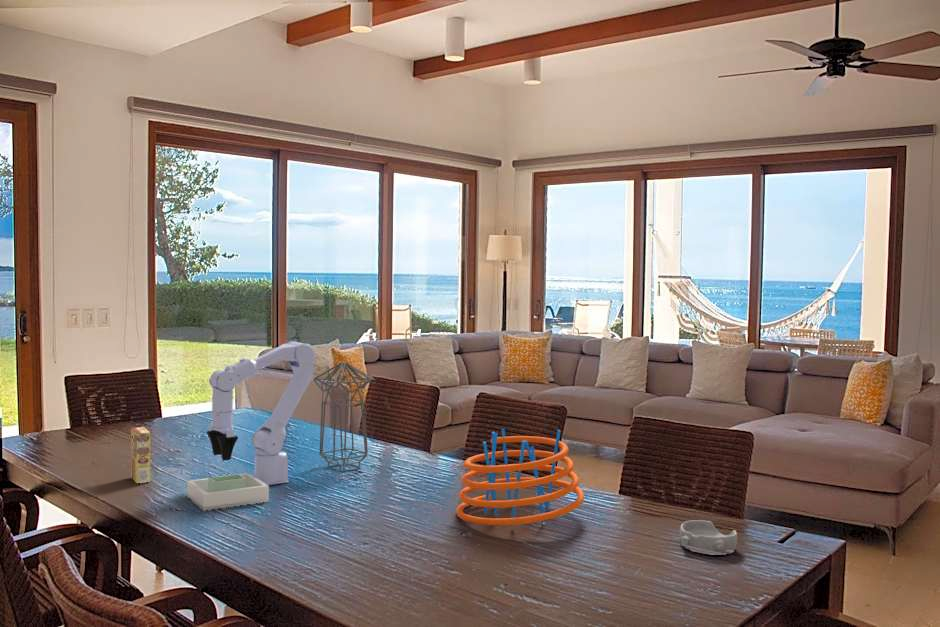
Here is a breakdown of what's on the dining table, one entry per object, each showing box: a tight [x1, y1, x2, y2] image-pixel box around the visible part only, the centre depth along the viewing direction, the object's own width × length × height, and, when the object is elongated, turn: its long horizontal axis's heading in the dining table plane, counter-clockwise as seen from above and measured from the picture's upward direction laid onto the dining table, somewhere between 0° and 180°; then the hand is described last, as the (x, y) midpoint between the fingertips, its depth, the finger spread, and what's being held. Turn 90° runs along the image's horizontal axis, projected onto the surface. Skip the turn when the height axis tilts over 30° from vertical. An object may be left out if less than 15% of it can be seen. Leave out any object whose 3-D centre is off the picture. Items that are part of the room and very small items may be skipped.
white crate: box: [186, 472, 270, 512], centre depth 229 cm, size 18×16×4 cm
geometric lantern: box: [312, 361, 375, 472], centre depth 268 cm, size 16×16×35 cm
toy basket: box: [455, 428, 585, 526], centre depth 220 cm, size 34×35×24 cm
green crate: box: [207, 473, 246, 493], centre depth 229 cm, size 9×6×5 cm, turn 125°
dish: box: [679, 519, 738, 551], centre depth 200 cm, size 14×14×5 cm
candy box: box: [130, 426, 151, 485], centre depth 245 cm, size 9×4×15 cm, turn 33°
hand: (221, 457), depth 238 cm, fingers open, 7 cm apart
